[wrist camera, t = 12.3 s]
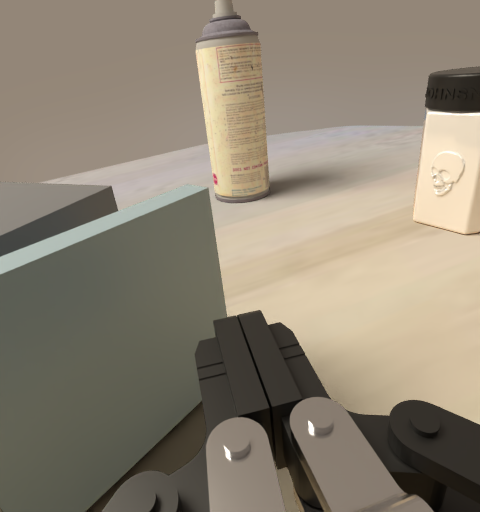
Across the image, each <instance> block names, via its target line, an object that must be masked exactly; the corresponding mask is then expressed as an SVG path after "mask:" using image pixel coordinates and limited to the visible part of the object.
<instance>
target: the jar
mask: <svg viewBox="0 0 480 512" xmlns="http://www.w3.org/2000/svg"><path fill="white" fill-rule="evenodd" d="M425 97H426V103H425V107H426V108H425V117H424V124H423V132H422V140H421V148H420V156H419V163H418V171H417V179H416V187H415V195H414V204H413V220H414V221H415V222H419V223H423V224H426V225H430V226H434V227H438V228H442V229H446V230H449V231H453V232H457V233H461V234H472V233H479V232H480V67H470V68H460V69H452V70H444V71H438V72H434V73H431V74H430V75H429V79H428V87H427V92H426V95H425Z"/></svg>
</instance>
